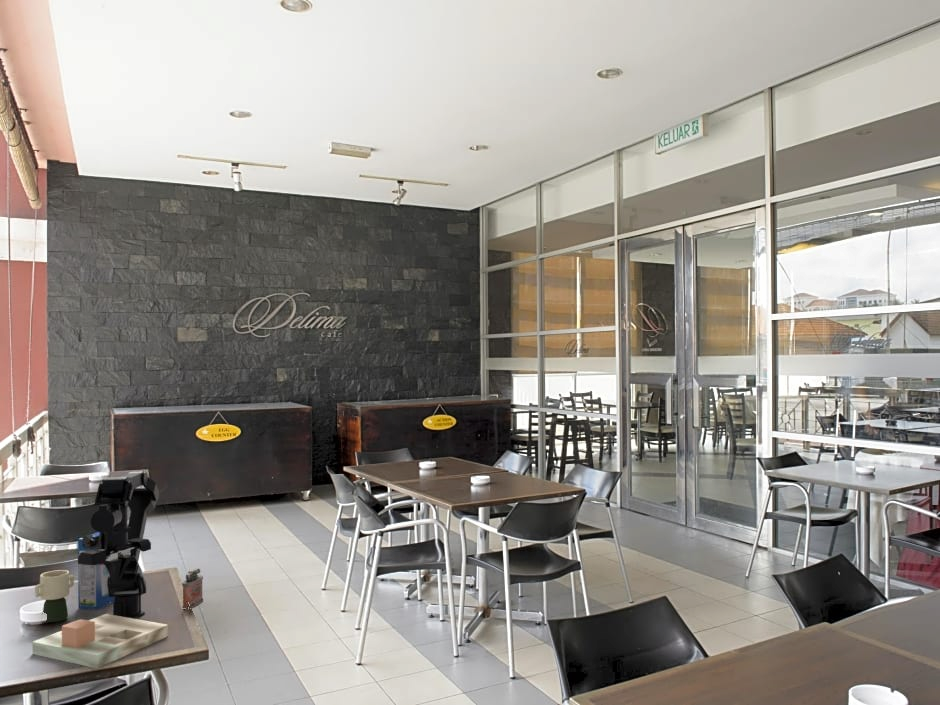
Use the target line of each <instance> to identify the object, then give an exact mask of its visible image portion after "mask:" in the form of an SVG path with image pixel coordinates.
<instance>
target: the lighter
mask: <svg viewBox="0 0 940 705" xmlns="http://www.w3.org/2000/svg"><path fill="white" fill-rule="evenodd" d="M200 573H201V568H195V569H192V570H188V573H186V574H185V580H184V581H182V583H181V586H182V601H183V602H182V608H186V609H188V607H189V609H190V608H191V609H190V610H192V609H194V608H196V607H198V606H200V605H202V603H203V602H204V598H203V579H204V575H199V574H200ZM188 602H189V604H190V606H189V604H188Z"/></svg>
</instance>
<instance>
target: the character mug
mask: <svg viewBox="0 0 940 705" xmlns="http://www.w3.org/2000/svg"><path fill="white" fill-rule="evenodd" d="M74 579H75V578H74V574H70V570H67V569H58V570H51V571H46V572H45V571H44V572H43V573H41V574H40V575H39V584H37V585H35V587H34V596H35V598H40V599H42V600H45V601H44V603H43V608H42V613H43V612H44V613H46V614H47V620H46V623H47V622H48V623H49V622H51V623H55V622H62V621H64V620H66V619H67V618H68V617H69V613H68V606H67V600H66V598H65V597H67V596H69V595H70V588H73V587H74V585H75V584H74V583H75V580H74Z"/></svg>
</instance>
